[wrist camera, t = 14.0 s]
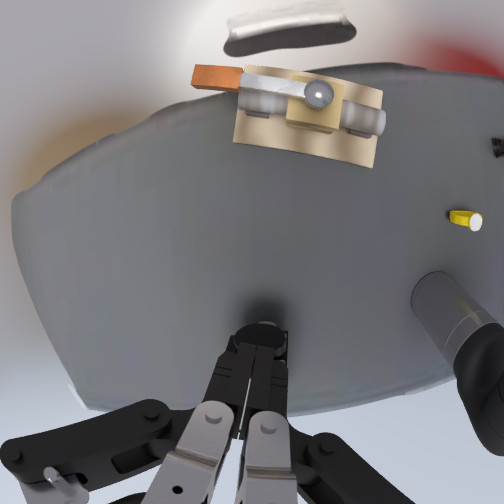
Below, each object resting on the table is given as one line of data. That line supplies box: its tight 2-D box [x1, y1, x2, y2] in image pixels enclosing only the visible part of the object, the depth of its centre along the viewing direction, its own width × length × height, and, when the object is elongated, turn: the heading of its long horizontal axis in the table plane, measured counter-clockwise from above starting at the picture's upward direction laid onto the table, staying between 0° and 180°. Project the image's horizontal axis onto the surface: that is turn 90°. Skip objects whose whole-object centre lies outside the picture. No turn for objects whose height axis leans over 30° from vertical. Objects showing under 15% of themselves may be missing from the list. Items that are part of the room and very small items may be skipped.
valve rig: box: [233, 65, 386, 168], centre depth 30 cm, size 20×12×11 cm, turn 82°
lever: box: [191, 65, 334, 110], centre depth 24 cm, size 3×14×2 cm, turn 79°
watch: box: [450, 210, 482, 231], centre depth 34 cm, size 6×3×6 cm, turn 96°
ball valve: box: [226, 321, 288, 432], centre depth 40 cm, size 18×8×18 cm, turn 2°
